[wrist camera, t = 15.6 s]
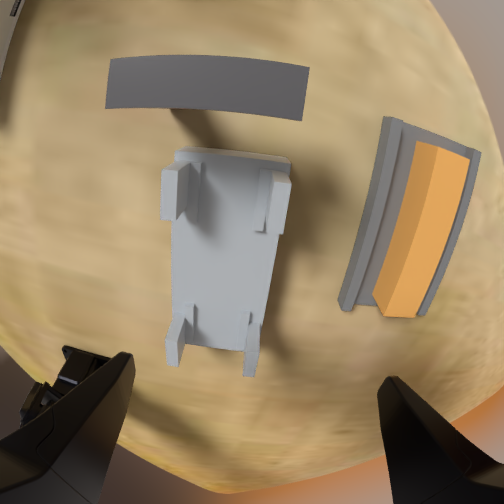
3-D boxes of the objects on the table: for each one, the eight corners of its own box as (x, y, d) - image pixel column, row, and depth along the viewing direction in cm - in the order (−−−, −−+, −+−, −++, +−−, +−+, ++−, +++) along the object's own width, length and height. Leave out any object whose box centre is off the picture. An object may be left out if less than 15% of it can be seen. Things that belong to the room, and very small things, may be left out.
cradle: (257, 331, 24) (256, 381, 19) (180, 321, 24) (165, 369, 19) (287, 157, 18) (297, 174, 13) (185, 145, 17) (158, 158, 13)
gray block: (283, 118, 16) (301, 120, 9) (167, 108, 16) (105, 108, 9) (287, 87, 16) (309, 67, 8) (170, 78, 15) (110, 59, 8)
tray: (418, 305, 23) (425, 315, 21) (337, 299, 22) (341, 310, 21) (470, 149, 16) (481, 152, 15) (383, 116, 16) (392, 117, 15)
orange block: (400, 296, 22) (414, 317, 19) (371, 294, 22) (383, 316, 19) (447, 152, 16) (470, 159, 14) (416, 140, 16) (438, 146, 14)
